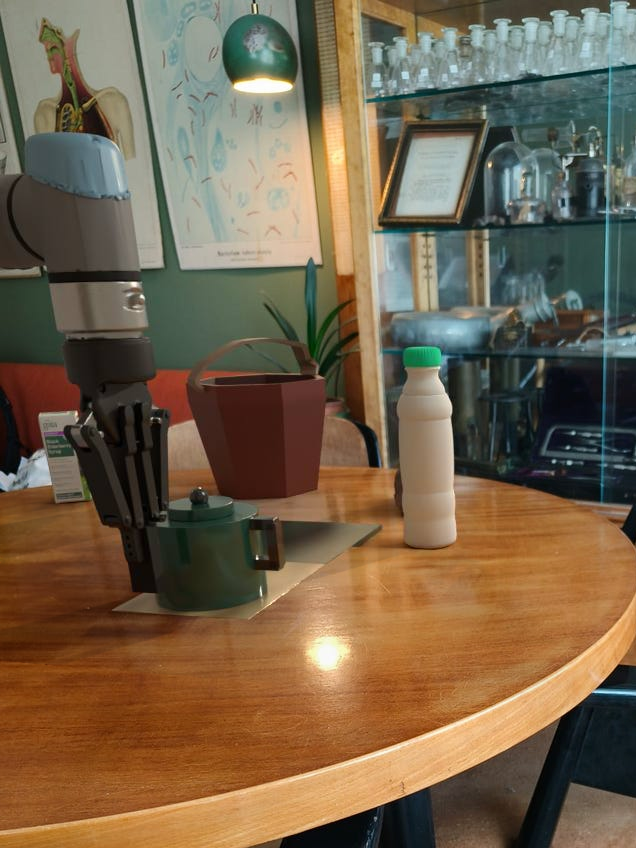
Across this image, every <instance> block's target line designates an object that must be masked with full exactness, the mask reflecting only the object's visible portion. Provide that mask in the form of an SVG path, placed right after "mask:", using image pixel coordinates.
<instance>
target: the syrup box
mask: <svg viewBox="0 0 636 848" xmlns="http://www.w3.org/2000/svg"><path fill="white" fill-rule="evenodd" d="M79 418H80V417H79V413H78V410H67V411H50V412H48V411H47V412H39V414H38V417H37V419H38V425H39V430H40V434H41V435H40V436H41V438H42V444H43V448H44V453H45V458H46V463H47V468H48V472H49V477H50V482H51V486H52V493H53V498H54V503H55V504H56V505H58V504H62V503H63V504H64V503H74V502H75V503H77V502H84V501H87V502H88V501H89V502H90V501H92V496H91V493H90V491H89V488H88V485H87V482H86V480H85V477H84V474H83V471H82V469H81V466H80V463H79V460H78V458H77V455H76V452H75V450H74V449H73V448H72V446H71V445H70V443H69V442H68V440H67V439H66V438H65V436H64V433H63V429H64V426H66V425H75V424H76V422H77V421H78V419H79Z"/></svg>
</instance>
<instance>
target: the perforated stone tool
mask: <svg viewBox="0 0 636 848" xmlns="http://www.w3.org/2000/svg"><path fill="white" fill-rule="evenodd" d="M393 488H394V494H393V499H394V502H395V504H396V507H398V509H399V510H400V511H401V512H403V507H402V493H403V486H402V479H401V470H400V467H399V468H398V469H397V470H396V472H395V475H394V481H393Z"/></svg>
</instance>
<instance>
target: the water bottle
mask: <svg viewBox="0 0 636 848" xmlns="http://www.w3.org/2000/svg"><path fill="white" fill-rule="evenodd" d="M402 363H403V366H404V367H405V368H404V370H405V371H406V373H407V379H406V381H405V383H404V384H403V386H402V393H401V394H400V395H399V399H398V401H397V404H396V415H397V417H398V455H399V468H400V470H401V479H402V486H403V493H402V507H403V511H402V513H403V526H402V527H403V541H404V543H406V544H407V545H408V546H409V547H412V548H414V549H415V548H416V549H423V550H424V549H425V550H430V549H441V548H445V547H449V546H451V545H452V544H454V543H455V542H456V540H457V522H456V516H455V514H456V513H455V512H456V495H455V491H454V481H455V480H454V479H455V453H454V434H453V425H452V414H453V404H452V402H451V401H452V400H451V399H450V398H449V395H448V393H447V392H446V389H445V386H444V384H443V383H442V381H441V380H440V377H439V371H440V369H441V368H442V367H441V365H442V352H441V349H440V348H439V347H436V346H412V347H407V348H405V349H404V350H403V353H402Z"/></svg>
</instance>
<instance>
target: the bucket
mask: <svg viewBox="0 0 636 848" xmlns="http://www.w3.org/2000/svg"><path fill="white" fill-rule="evenodd" d="M265 342H269V343H274V344H275V343H276V344H282V345H286V346H291V347H292V348H293V351H294V355H295V358H296V360H297V361H298V363H299V364H300V365H299V366H300V371H299V373H253V374H241V375H240V374H238V375H223V376H210V377H207V378H202V377H203V375H204V374H205V373H206V371H207V369H208V368H209V366H210V365H212V364H213V363H214V364H215V363H216V362H217V361H218V360H220V359H221V358H222V357H224V356H225V355H227V354H229V353H230V352H233V351H234V350H236V349H238V348H240V347H242V346H244V345H249V344H255V343H265ZM319 371H320V364H319V363H318V362H317V361H316V359H314V358H312V357H311V353H310V349H309V347H308V344H307V343H304V342H300V341H296V340H290V339H284V338H283V339H282V338H270V337H256V338H255V337H254V338H253V337H252V338H243V339H236V340H232V341H230V342H228V343H225V344H224V345H222V346H220V347H218V348H217V349H215V350H212V352H210V353H209V354H207V355H206V356H204V357H203V358H201V359H199V360H198V361H197V362H196V363H195V365H194V367H193V368H192V369H191V370H190V372H189V374H188V376H187V378H186V381H187V382H185V389H186V396H187V397H186V398H187V403H188V406H189V408H190V411H191V414H192V417H193V420H194V423H195V427H196V429H197V432H198V435H199V438H200V440H201V443H202V444H201V445H202V447H203V450H204V453H205V455H206V458H207V461H208V465H209V467H210V471H211V473H212V476H213V479H214V482H215V485H216V488H217V491H218V493H219V494H220V495H223V496H226V497H230V498H234V499H238V500H258V499H260V500H261V499H282V498H290V497H294V496H297V495H301V494H304V493H309V492H312V491H317V490H318V488H319V477H320V468H321V467H320V466H321V457H322V448H323V436H324V427H325V415H326V406H327V387H326V385H327V384H326V378H325V377H323V376H321V375H319Z"/></svg>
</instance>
